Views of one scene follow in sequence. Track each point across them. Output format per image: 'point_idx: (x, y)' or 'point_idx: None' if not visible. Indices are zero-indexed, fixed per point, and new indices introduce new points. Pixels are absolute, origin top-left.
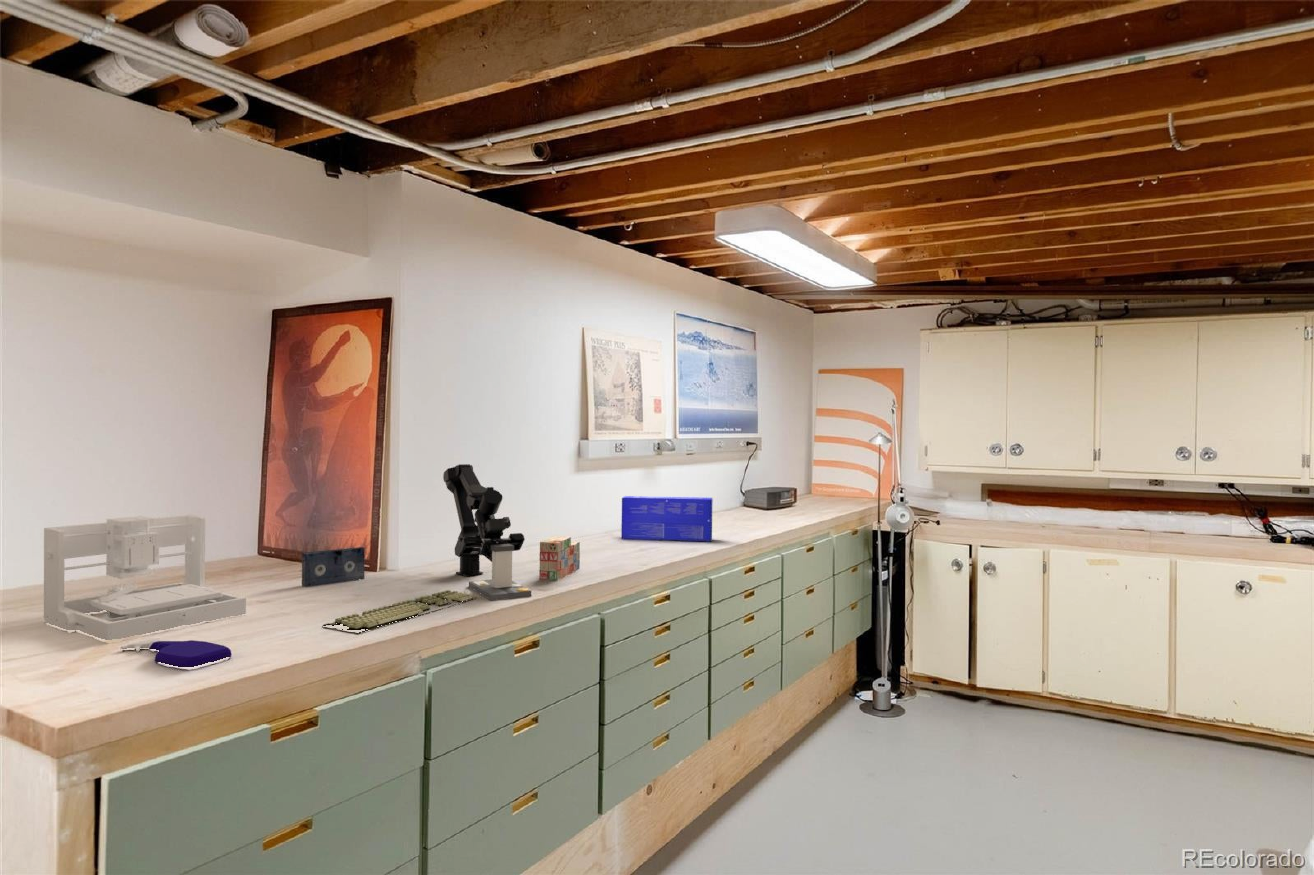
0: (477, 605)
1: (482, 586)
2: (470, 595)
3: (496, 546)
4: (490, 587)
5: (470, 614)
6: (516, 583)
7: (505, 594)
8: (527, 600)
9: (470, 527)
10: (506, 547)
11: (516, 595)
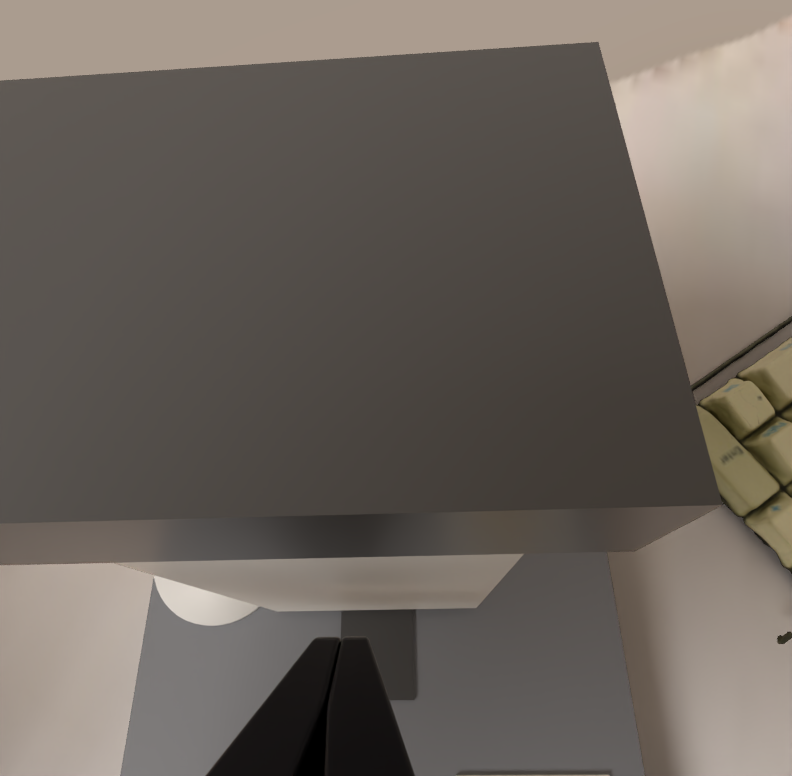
0: (678, 226)
1: (570, 702)
2: (735, 403)
3: (519, 114)
4: (492, 600)
5: (743, 69)
6: (142, 690)
7: None
8: None
9: None
10: (198, 101)
11: None
